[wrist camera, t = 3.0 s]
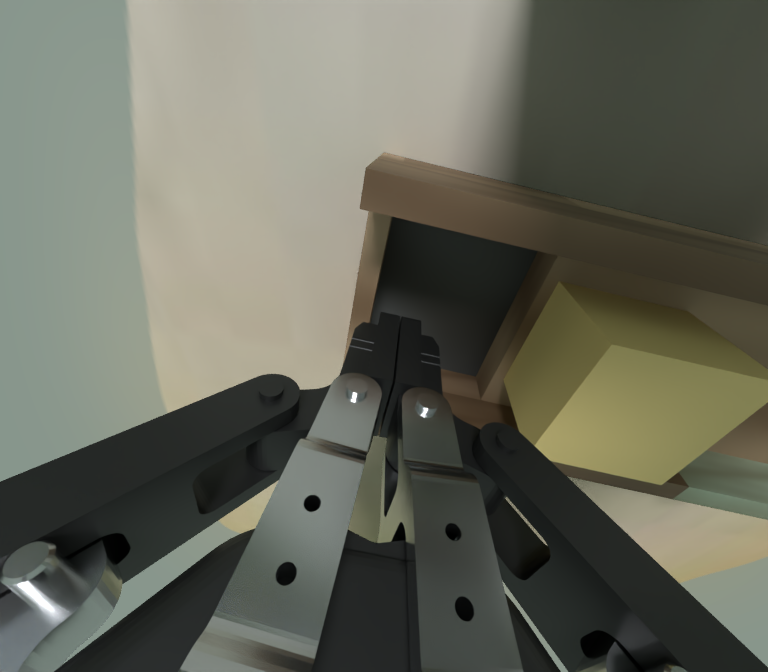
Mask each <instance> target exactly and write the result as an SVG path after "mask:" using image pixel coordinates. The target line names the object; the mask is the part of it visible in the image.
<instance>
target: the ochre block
mask: <svg viewBox="0 0 768 672" xmlns="http://www.w3.org/2000/svg"><path fill="white" fill-rule="evenodd" d="M503 380H504V383H505V387H506V390H507V393H508V397H509V400H510V403H511V406H512V410H513V413H514V416H515V419H516V423H517V426H518V429H519V432H520V433H521V434H522V435H523V436H525V437H526V438H527V439H528V440H529V441H530V442H531V443H532V444H533V445H534V446H535V447H536V448H537V449H538V450H539V451H540V452H541V453H542V454H543V455H545V456H546V457H547V458H548V459H549V460H550V461H553V462H557V463H562V464H566V465H571V466H576V467H580V468H585V469H589V470H594V471H598V472H603V473H608V474H612V475H617V476H621V477H626V478H631V479H635V480H640V481H644V482H649V483H653V484H658V485H662V484H664V483H665V482H666V481H668V480H669V479H670V478H671V477H673V476H674V475H675V474H677V473H678V472H679V471H680V470H682V469H683V468H684V467H685V466H687V465H688V464H689V463H691V462H692V461H693V460H694V459H696V458H697V457H698V456H700V455H701V454H702V453H703V452H705V451H706V450H707V449H709V448H710V447H711V446H712V445H714V444H715V443H716V442H718V441H719V440H720V439H721V438H723V437H724V436H725V435H727V434H728V433H729V432H730V431H732V430H733V429H734V428H736V427H737V426H738V425H739V424H741V423H742V422H743V421H745V420H746V419H747V418H748V417H750V416H751V415H752V414H754V413H755V412H756V411H757V410H759V409H760V408H761V407H762V406H764V405H765V404H766V403H768V369H766V368H765V367H764V366H762V365H761V364H760V363H758V362H757V361H756V360H754V359H753V358H751V357H750V356H749V355H747V354H746V353H745V352H743V351H742V350H740V349H739V348H738V347H736V346H735V345H734V344H732V343H731V342H729V341H728V340H727V339H725V338H724V337H723V336H721V335H720V334H718V333H717V332H716V331H714V330H713V329H712V328H710V327H709V326H707V325H706V324H705V323H703V322H702V321H701V320H699V319H698V318H696V317H695V316H694V315H692V314H691V313H690V312H688V311H684V310H679V309H675V308H671V307H667V306H662V305H658V304H654V303H650V302H645V301H641V300H637V299H633V298H628V297H624V296H620V295H616V294H611V293H607V292H603V291H599V290H594V289H590V288H586V287H582V286H577V285H573V284H569V283H565V282H560V281H559V282H558V284H557V286H556V288H555V289H554V291H553V293H552V295H551V296H550V298H549V300H548V302H547V303H546V305H545V307H544V309H543V311H542V312H541V314H540V316H539V318H538V319H537V321H536V323H535V325H534V326H533V328H532V330H531V332H530V333H529V335H528V337H527V339H526V341H525V342H524V344H523V346H522V348H521V349H520V351H519V353H518V355H517V356H516V358H515V360H514V362H513V364H512V365H511V367H510V369H509V371H508V372H507V374H506V376H505V378H504V379H503Z"/></svg>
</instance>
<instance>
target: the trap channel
mask: <svg viewBox="0 0 768 672" xmlns="http://www.w3.org/2000/svg"><path fill="white" fill-rule="evenodd" d="M360 209H363V210H367V211H369V213H368V219H367V225H366V231H365V237H364V243H363V249H362V255H361V260H360V266H359V272H358V278H357V284H356V290H355V296H354V302H353V308H352V314H351V320H350V326H349V332H348V338H347V344H346V350H345V356H344V361H345V358H346V355H347V351H348V348H349V346H350V342H351V339H352V336H353V333H354V330H355V328H356V327H357V326H359V325H360V324H361V323H362V322H367V323H371V324H376V325H378V321H379V317H380V312H385V313H389V314H394V315H398V316H400V319H401V316H403V317H408V318H412V319H416V320H421V335H426V336H430V337H433V338H434V340H435V341H436V343H437V344H438V346H439V353H440V357H439V358H440V366H441V378H442V391H443V397H444V398H445V399H446V400H447V401H448V402H449V404H450V407H451V410H452V413H453V414H454V415H455V416H456V417H458V418H459V419H461V420H463V421H464V422H466V423H468V424H471V425H473V426H475V427H477V428H479V429H481V428H482V427H483V426H484V425H486V424H488V423H491V422H498V423H503V424H506V425H509V426H511V427H513V428H514V429H516V430H517V431H519V429H518V426H517V423H516V419H515V416H514V413H513V410H512V406H511V403H510V400H509V397H508V393H507V390H506V387H505V383H504V380H503V379H504V378H505V376H506V374H507V372H508V371H509V369H510V367H511V365H512V364H513V362H514V360H515V358H516V356H517V355H518V353H519V351H520V349H521V348H522V346H523V344H524V342H525V341H526V339H527V337H528V335H529V333H530V332H531V330H532V328H533V326H534V325H535V323H536V321H537V319H538V318H539V316H540V314H541V312H542V311H543V309H544V307H545V305H546V303H547V302H548V300H549V298H550V296H551V295H552V293H553V291H554V289H555V288H556V286H557V284H558V282H559V281H560V282H565V283H569V284H573V285H577V286H582V287H586V288H590V289H594V290H599V291H603V292H607V293H611V294H616V295H620V296H624V297H628V298H633V299H637V300H641V301H645V302H650V303H654V304H658V305H662V306H667V307H671V308H675V309H679V310H684V311H688V312H690V313H691V314H692V315H694V316H695V317H696V318H698V319H699V320H701V321H702V322H703V323H705V324H706V325H707V326H709V327H710V328H712V329H713V330H714V331H716V332H717V333H718V334H720V335H721V336H723V337H724V338H725V339H727V340H728V341H729V342H731V343H732V344H734V345H735V346H736V347H738V348H739V349H740V350H742V351H743V352H745V353H746V354H747V355H749V356H750V357H751V358H753V359H754V360H756V361H757V362H758V363H760V364H761V365H762V366H764V367H765V368H766V369H768V246H766V245H762V244H758V243H753V242H749V241H745V240H741V239H737V238H733V237H729V236H725V235H721V234H716V233H712V232H708V231H704V230H700V229H696V228H692V227H688V226H684V225H679V224H675V223H671V222H667V221H663V220H659V219H655V218H651V217H647V216H643V215H638V214H634V213H630V212H626V211H622V210H618V209H614V208H610V207H606V206H601V205H597V204H593V203H589V202H585V201H581V200H577V199H573V198H569V197H564V196H560V195H556V194H552V193H548V192H544V191H540V190H536V189H532V188H527V187H523V186H519V185H515V184H511V183H507V182H503V181H499V180H495V179H490V178H486V177H482V176H478V175H474V174H470V173H466V172H462V171H458V170H453V169H449V168H445V167H441V166H437V165H433V164H429V163H425V162H421V161H416V160H412V159H408V158H404V157H400V156H396V155H392V154H388V153H383V154H382V155H381V156H380V157H378V158H377V159H376V160H375V161H374V162H372V163H371V164H370V165H369V166H368V167H367V168H366V171H365V177H364V184H363V190H362V197H361V204H360ZM343 364H344V362H343ZM380 428H381V425H380ZM380 428H379V431H378V435H380ZM551 462H552V463H553V464H554V465H555V466H556V467H557V468H558V469H559V470H560V471H561V472H562V473H563V474H565V475H566V476H569V477H573V478H578V479H582V480H587V481H592V482H596V483H601V484H605V485H610V486H615V487H619V488H624V489H628V490H633V491H638V492H642V493H647V494H652V495H656V496H661V497H665V498H670V499H675V500H679V501H684V502H688V503H693V504H698V505H702V506H707V507H711V508H716V509H721V510H725V511H730V512H734V513H739V514H744V515H748V516H753V517H757V518H762V519H767V520H768V403H766V404H765V405H764V406H762V407H761V408H760V409H759V410H757V411H756V412H755V413H754V414H752V415H751V416H750V417H748V418H747V419H746V420H745V421H743V422H742V423H741V424H739V425H738V426H737V427H736V428H734V429H733V430H732V431H730V432H729V433H728V434H727V435H725V436H724V437H723V438H721V439H720V440H719V441H718V442H716V443H715V444H714V445H712V446H711V447H710V448H709V449H707V450H706V451H705V452H703V453H702V454H701V455H700V456H698V457H697V458H696V459H694V460H693V461H692V462H691V463H689V464H688V465H687V466H685V467H684V468H683V469H682V470H680V471H679V472H678V473H677V474H675V475H674V476H673V477H671V478H670V479H669V480H668V481H666V482H665V483H664V484H662V485H658V484H653V483H649V482H644V481H640V480H635V479H631V478H626V477H621V476H617V475H612V474H608V473H603V472H598V471H594V470H589V469H585V468H580V467H576V466H571V465H566V464H562V463H557V462H553V461H551Z"/></svg>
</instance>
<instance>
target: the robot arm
mask: <svg viewBox="0 0 768 672" xmlns="http://www.w3.org/2000/svg"><path fill="white" fill-rule="evenodd" d="M439 357H440V353H439V346H438V344H437V343H436V341H435V340H434V338H433V337H430V336H426V335H421V320H416V319H412V318H408V317H403V316H401V319H400V316H398V315H394V314H389V313H385V312H380V317H379V321H378V325H376V324H371V323H367V322H362V323H361V324H360V325H359V326H357V327H356V328H355V330H354V333H353V336H352V339H351V342H350V346H349V348H348V351H347V355H346V358H345V361H344V364H343V367H342V370H341V373H340V376H338V377H337V378H336V379H335V380H334V381H333V382H332V384H331V385H329V386H327V387H324V388H320V389H309V390H300V389H299V386H298V385H297V383H296V382H295V381H294V380H292V379H291V378H289V377H287V376H284V375H279V374H266V375H262V376H259V377H256V378H253V379H251V380H249V381H246V382H244V383H241V384H239V385H236V386H234V387H231V388H229V389H226V390H224V391H222V392H219V393H217V394H214V395H212V396H209V397H207V398H204V399H202V400H199V401H197V402H195V403H192V404H190V405H187V406H185V407H182V408H180V409H177V410H175V411H173V412H170V413H168V414H165V415H163V416H160V417H158V418H156V419H153V420H151V421H148V422H146V423H143V424H141V425H138V426H136V427H133V428H131V429H129V430H126V431H124V432H121V433H119V434H116V435H114V436H111V437H109V438H106V439H104V440H101V441H99V442H97V443H94V444H92V445H89V446H87V447H84V448H82V449H79V450H77V451H75V452H72V453H70V454H67V455H65V456H62V457H60V458H57V459H55V460H52V461H50V462H48V463H45V464H43V465H40V466H38V467H36V468H33V469H30V470H28V471H26V472H23V473H21V474H18V475H16V476H13V477H11V478H8V479H6V480H3V481H1V482H0V672H560V670H559V669H558V667H557V666H556V664H555V663H554V661H553V660H552V658H551V657H550V656H549V654H548V652H547V651H546V650H545V648H544V647H543V645H542V644H541V642H540V641H539V639H538V638H537V636H536V635H535V633H534V632H533V630H532V629H531V627H530V626H529V624H528V623H527V622H526V620H525V619H524V617H523V616H522V614H521V613H520V611H519V610H518V609H517V607H516V606H515V605H514V603H513V602H512V601H511V600H510V598H509V597H508V596H507V595H506V594H505V591H504V587H503V583H502V580H503V582H504V583H505V585H506V586H507V587H508V589H509V590H510V592H511V593H512V594H513V596H514V597H515V598H516V600H517V601H518V603H519V604H520V605H521V607H522V608H523V609H524V611H525V612H526V613H527V615H528V616H529V618H530V619H531V621H532V622H533V623H534V625H535V626H536V627H537V629H538V630H539V632H540V633H541V634H542V636H543V637H544V638H545V640H546V641H547V643H548V644H549V645H550V647H551V648H552V650H553V651H554V652H555V654H556V655H557V656H558V658H559V659H560V660H561V662H562V663H563V664H564V666H565V667H566V669H567V670H568V672H768V667H767V666H766V665H765V664H763V663H762V662H761V661H760V660H759V659H758V658H757V657H756V656H755V655H754V654H753V653H752V652H751V651H750V650H749V649H748V648H747V647H745V645H743V644H742V643H741V642H740V641H739V640H738V639H737V638H736V637H735V636H734V635H733V634H732V633H731V632H730V631H729V630H728V629H727V628H726V627H724V625H722V624H721V623H720V622H719V621H718V620H717V619H716V618H715V617H714V616H713V615H712V614H711V613H710V612H709V611H708V610H707V609H706V608H704V607H703V606H702V605H701V604H700V603H699V602H698V601H697V600H696V599H695V598H694V597H693V596H692V595H691V594H690V593H689V592H688V591H687V590H686V589H685V588H684V587H682V586H681V585H680V584H679V583H678V582H677V581H676V580H675V579H674V578H673V577H672V576H671V575H670V574H669V573H668V572H667V571H666V570H665V569H663V568H662V567H661V566H660V565H659V564H658V563H657V562H656V561H655V560H654V559H653V558H652V557H651V556H650V555H649V554H648V553H647V552H646V551H645V550H643V549H642V548H641V547H640V546H639V545H638V544H637V543H636V542H635V541H634V540H633V539H632V538H631V537H630V536H629V535H628V534H627V533H626V532H625V531H623V530H622V529H621V528H620V527H619V526H618V525H617V524H616V523H615V522H614V521H613V520H612V519H611V518H610V517H609V516H608V515H607V514H606V513H605V512H603V511H602V510H601V509H600V508H599V507H598V506H597V505H596V504H595V503H594V502H593V501H592V500H591V499H590V498H589V497H588V496H587V495H586V494H585V493H583V492H582V491H581V490H580V489H579V488H578V487H577V486H576V485H575V484H574V483H573V482H572V481H571V480H570V479H569V478H568V477H567V476H566V475H565V474H563V473H562V472H561V471H560V470H559V469H558V468H557V467H556V466H555V465H554V464H553V463H552V462H551V461H550V460H549V459H548V458H547V457H546V456H545V455H543V454H542V453H541V452H540V451H539V450H538V449H537V448H536V447H535V446H534V445H533V444H532V443H531V442H530V441H529V440H528V439H527V438H526V437H525V436H523V435H522V434H521V433H520V432H519V431H517V430H516V429H514V428H513V427H511V426H509V425H506V424H503V423H498V422H491V423H488V424H486V425H484V426H483V427H482V428H481V429H479V428H477V427H475V426H473V425H471V424H468V423H466V422H464V421H463V420H461V419H459V418H458V417H456V416H455V415H454V414H453V413H452V410H451V407H450V404H449V402H448V401H447V400H446V399H445V398H444V397H443V391H442V378H441V366H440V358H439ZM380 425H381V428H380ZM379 428H380V435H379V437H384V438H387V443H386V450H385V453H384V456H383V459H382V481H381V513H380V528H379V534H378V539H377V543H374V542H371V541H369V540H367V539H365V538H363V537H361V536H359V535H357V534H355V533H353V532H351V531H349V530H348V527H349V523H350V519H351V515H352V511H353V507H354V503H355V499H356V495H357V491H358V488H359V484H360V480H361V476H362V472H363V468H364V464H365V460H366V455H367V453H368V452H369V449H370V446H371V442H372V439H373V435H374V436H377V435H378V431H379ZM278 480H279V481H278ZM276 481H278V483H277V485H276V487H275V489H274V491H273V494H272V496H271V498H270V500H269V502H268V504H267V506H266V508H265V510H264V512H263V514H262V516H261V518H260V520H259V522H258V524H257V526H256V528H255V529H252V530H250V531H247V532H244V533H242V534H240V535H237V536H235V537H233V538H231V539H229V540H228V541H226V542H225V543H223V544H221V545H219V546H218V547H217V548H215V549H214V550H212V551H211V552H210V553H208V554H207V555H206V556H205V557H203V558H202V559H200V561H198V562H197V563H195V564H194V565H193V566H191V567H190V568H189V569H187V570H186V571H185V572H183V573H182V574H181V575H180V576H178V577H177V578H176V579H174V580H173V581H172V582H171V583H169V584H168V585H166V586H165V587H164V588H163V589H161V590H160V591H159V592H157V593H156V594H155V595H154V596H152V597H151V598H150V599H148V600H147V601H145V602H144V603H143V604H142V605H141V606H139V607H138V608H136V609H135V610H134V611H132V612H131V613H130V614H128V615H127V616H126V617H125V618H123V619H122V620H121V621H119V622H118V623H117V624H116V625H114V626H113V627H111V628H110V629H109V630H108V631H106V632H105V633H104V634H102V635H101V636H100V637H99V638H97V639H96V640H94V641H93V642H92V643H91V644H89V645H88V646H87V647H85V648H84V649H83V650H81V651H80V652H79V653H77V654H76V655H75V656H74V657H72V658H71V659H70V660H68V661H67V662H66V663H64V661H66V659H67V658H68V657H69V656H70V655H71V654H72V653H73V652H74V651H75V650H76V649H77V648H78V647H79V646H80V645H81V644H83V643H84V642H85V641H86V640H87V639H88V638H90V637H91V636H92V635H93V634H94V633H95V632H96V631H97V630H98V629H99V628H100V627H101V626H102V625H103V623H104V622H105V621H106V620H107V619H108V617H109V616H110V614H111V613H112V611H113V610H114V608H115V606H116V604H117V602H118V600H119V597H120V594H121V589H122V584H123V583H125V582H127V581H128V580H130V579H131V578H133V577H134V576H135V575H137V574H139V573H140V572H141V571H143V570H144V569H146V568H147V567H149V566H150V565H152V564H153V563H155V562H156V561H158V560H159V559H161V558H162V557H164V556H165V555H167V554H168V553H170V552H171V551H173V550H174V549H176V548H177V547H179V546H180V545H182V544H183V543H185V542H186V541H188V540H189V539H191V538H192V537H194V536H195V535H197V534H198V533H200V532H201V531H203V530H204V529H206V528H207V527H209V526H210V525H212V524H213V523H215V522H216V521H218V520H219V519H221V518H222V517H224V516H225V515H227V514H228V513H230V512H231V511H233V510H234V509H236V508H237V507H239V506H240V505H242V504H243V503H245V502H246V501H248V500H249V499H251V498H252V497H254V496H255V495H257V494H258V493H260V492H261V491H263V490H264V489H266V488H267V487H269V486H270V485H272V484H273V483H275V482H276ZM506 497H508V498H509V499H510V501H511V502H512V503H513V504H514V505H515V506H516V507H517V509H518V510H519V511H520V512H521V513H522V514H523V515H524V517H525V518H526V519H527V520H528V521H529V522H530V524H531V525H532V526H533V527H534V528H535V529H536V530H537V532H538V533H539V534H540V535H541V536H542V537H543V539H544V540H545V541H546V543H547V545H548V546H546V545H545V544H544V543H543V542H542V541H541V540H540V539H539V538H538V536H537V535H536V534H535V533H534V532H533V531H532V529H531V528H530V527H529V526H528V525H527V524H526V523H525V521H524V520H523V519H522V518H521V517H520V516H519V514H518V513H517V512H516V511H515V510H514V509H513V507H512V506H511V505H510V504H509V503H508V502H507V501H506V499H505V498H506ZM63 663H64V664H63ZM62 664H63V665H62ZM61 665H62V666H61Z"/></svg>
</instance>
